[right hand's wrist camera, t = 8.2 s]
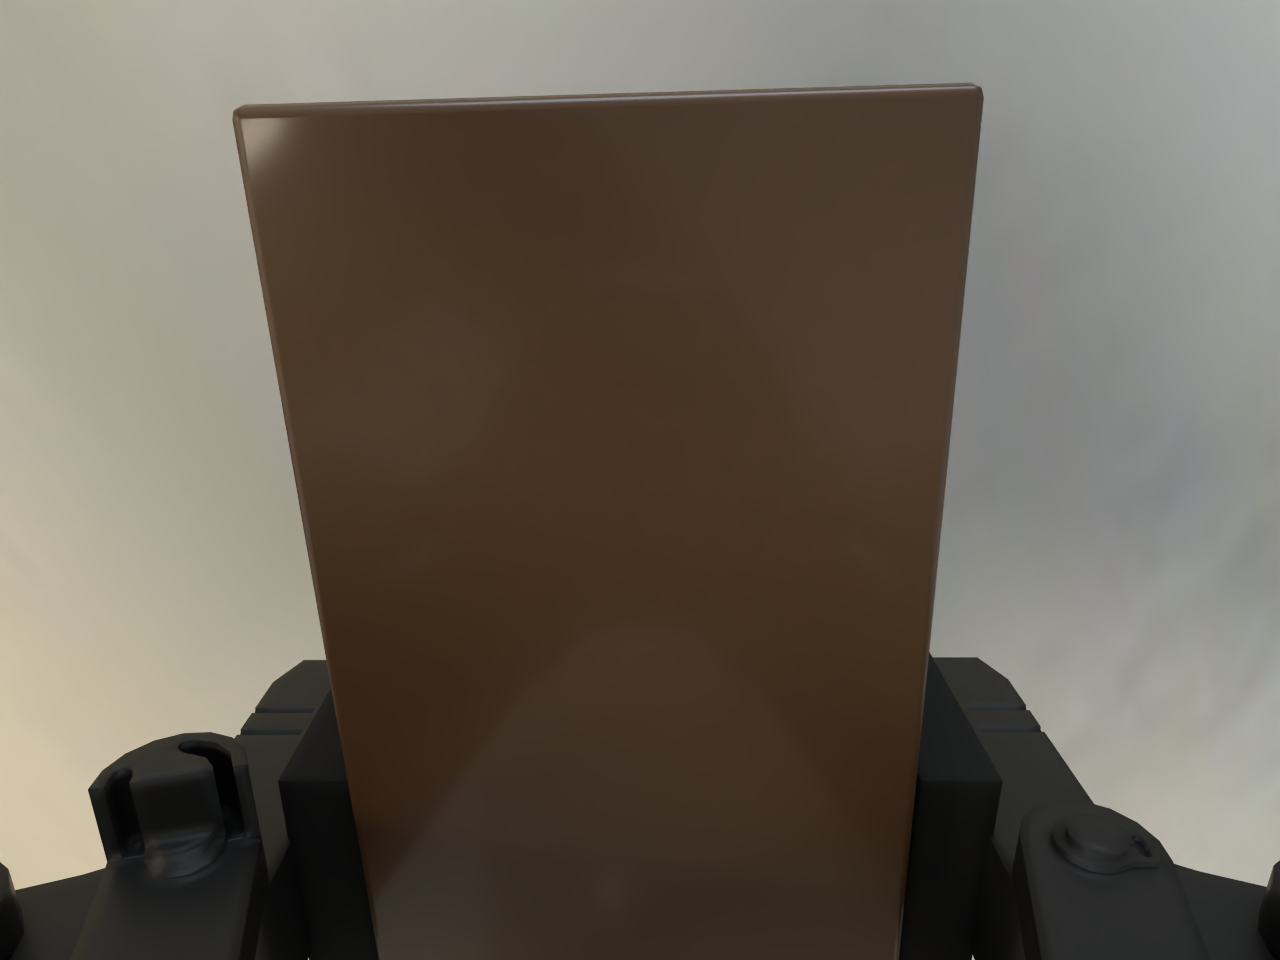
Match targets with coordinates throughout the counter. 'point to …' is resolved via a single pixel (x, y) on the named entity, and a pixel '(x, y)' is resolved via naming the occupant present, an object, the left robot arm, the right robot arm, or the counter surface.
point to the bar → (623, 500)
